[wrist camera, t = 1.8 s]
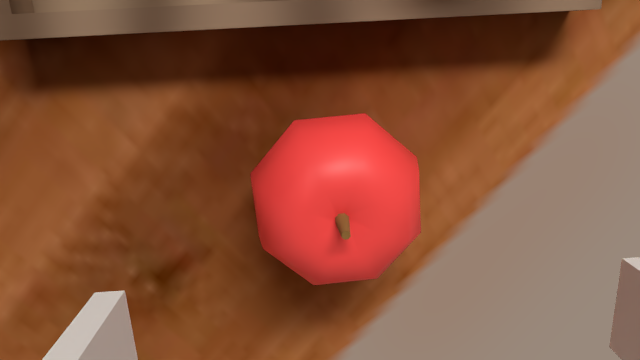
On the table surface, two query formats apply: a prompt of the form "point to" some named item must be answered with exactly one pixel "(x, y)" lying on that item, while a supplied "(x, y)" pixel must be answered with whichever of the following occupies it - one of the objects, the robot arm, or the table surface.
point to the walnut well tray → (237, 14)
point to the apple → (337, 199)
